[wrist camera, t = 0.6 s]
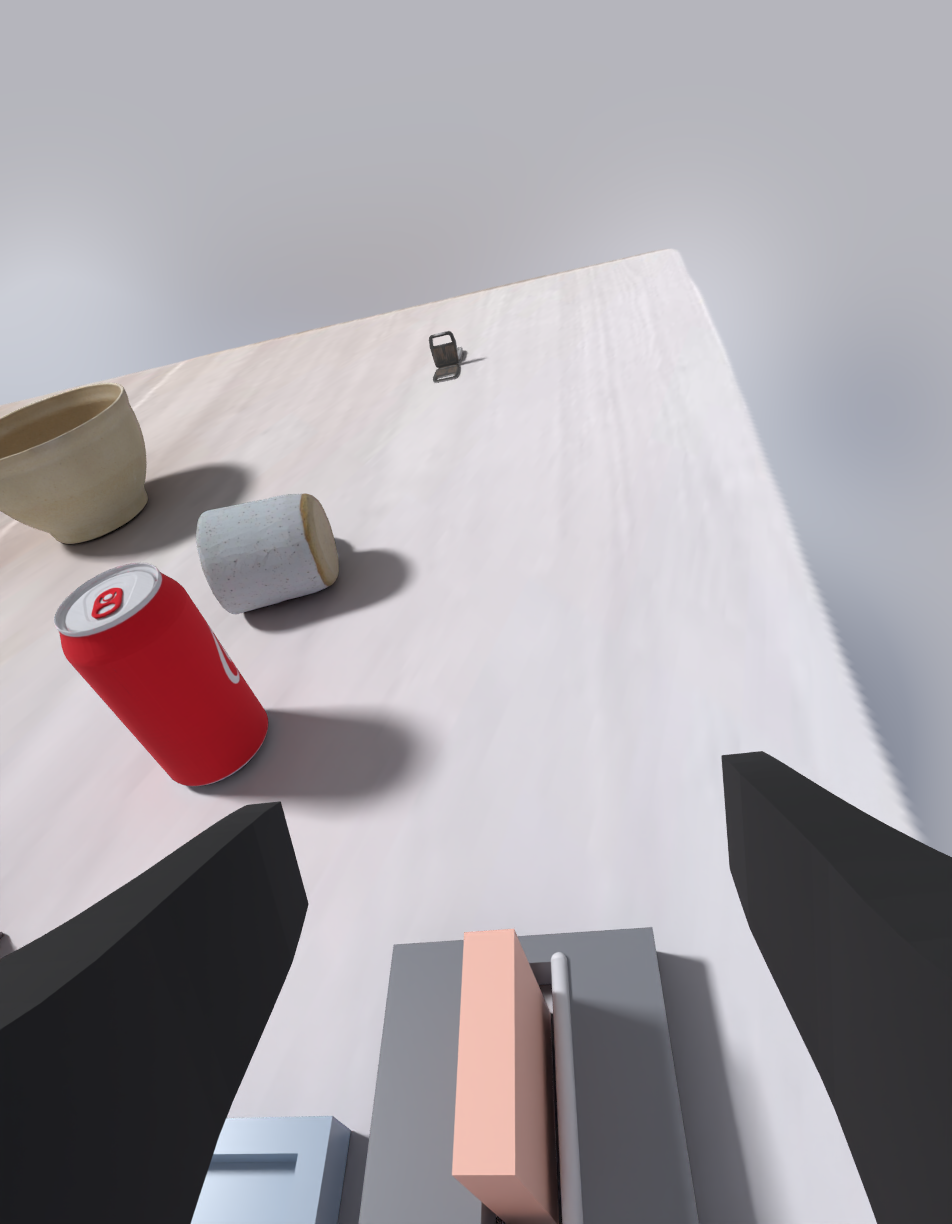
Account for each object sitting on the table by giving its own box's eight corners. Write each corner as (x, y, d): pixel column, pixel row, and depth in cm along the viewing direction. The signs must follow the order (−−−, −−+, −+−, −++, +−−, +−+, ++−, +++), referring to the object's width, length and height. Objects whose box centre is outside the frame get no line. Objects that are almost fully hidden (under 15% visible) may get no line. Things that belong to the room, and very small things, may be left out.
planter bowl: (210, 472, 72) (156, 373, 65) (109, 567, 61) (32, 460, 54) (100, 479, 78) (40, 389, 71) (-10, 566, 67) (-93, 470, 60)
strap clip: (441, 358, 83) (431, 323, 81) (465, 352, 83) (455, 317, 80) (433, 386, 77) (422, 349, 74) (459, 380, 76) (448, 343, 73)
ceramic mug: (345, 604, 49) (303, 512, 44) (235, 636, 49) (182, 548, 44) (345, 529, 57) (309, 446, 52) (251, 557, 57) (207, 476, 52)
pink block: (559, 1226, 21) (515, 1174, 17) (508, 1226, 21) (451, 1175, 17) (550, 1013, 26) (514, 928, 21) (508, 1015, 26) (463, 932, 22)
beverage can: (269, 694, 43) (171, 540, 36) (279, 765, 38) (169, 605, 31) (173, 734, 42) (52, 585, 35) (171, 811, 38) (31, 659, 30)
